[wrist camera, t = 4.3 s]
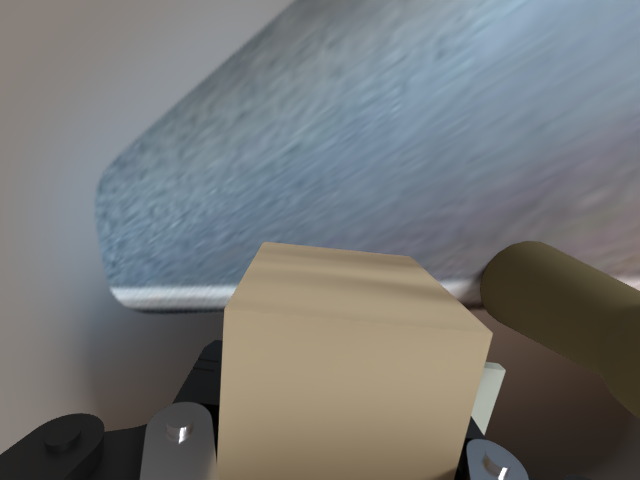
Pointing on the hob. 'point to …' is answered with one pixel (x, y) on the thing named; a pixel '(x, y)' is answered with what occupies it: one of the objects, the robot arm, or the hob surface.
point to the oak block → (345, 369)
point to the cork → (569, 312)
